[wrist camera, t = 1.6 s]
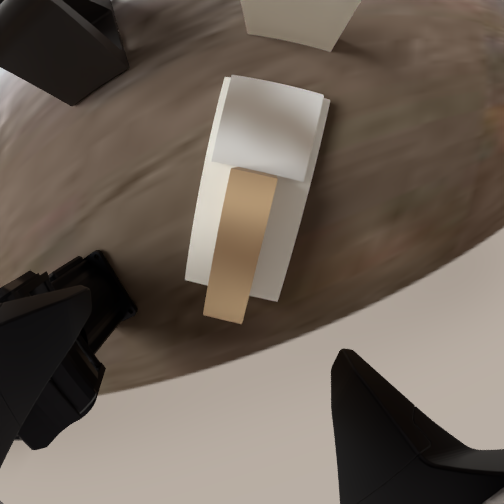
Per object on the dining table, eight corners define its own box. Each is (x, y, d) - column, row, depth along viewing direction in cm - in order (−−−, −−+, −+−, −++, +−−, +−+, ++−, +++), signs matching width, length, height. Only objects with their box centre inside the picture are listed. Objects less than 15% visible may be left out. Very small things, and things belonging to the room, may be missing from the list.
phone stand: (130, 69, 16) (21, 21, 5) (73, 107, 17) (-40, 98, 6) (111, 0, 14) (31, -55, 3) (60, 36, 15) (-28, 7, 4)
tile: (330, 52, 15) (361, -1, 8) (247, 34, 15) (234, -27, 8) (333, 36, 15) (364, -19, 7) (252, 18, 15) (241, -44, 7)
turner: (269, 300, 21) (269, 330, 17) (192, 281, 21) (176, 307, 17) (321, 97, 16) (334, 82, 12) (233, 77, 16) (223, 58, 12)
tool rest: (277, 298, 22) (277, 301, 21) (186, 276, 22) (184, 279, 21) (328, 101, 17) (330, 100, 16) (226, 79, 17) (224, 76, 16)
